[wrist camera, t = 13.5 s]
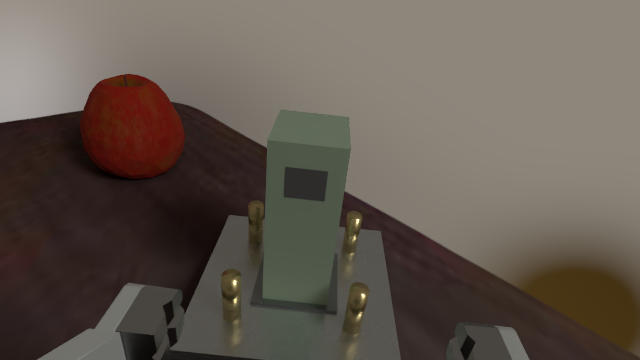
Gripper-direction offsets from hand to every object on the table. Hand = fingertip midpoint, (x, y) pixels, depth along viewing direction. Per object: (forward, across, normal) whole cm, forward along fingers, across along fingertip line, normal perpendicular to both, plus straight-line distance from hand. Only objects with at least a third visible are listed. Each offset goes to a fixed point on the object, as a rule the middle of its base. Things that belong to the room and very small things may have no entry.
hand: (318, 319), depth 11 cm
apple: (+30, -21, -14) cm, 39 cm away
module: (+13, -1, -11) cm, 18 cm away
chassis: (+13, -1, -13) cm, 19 cm away
